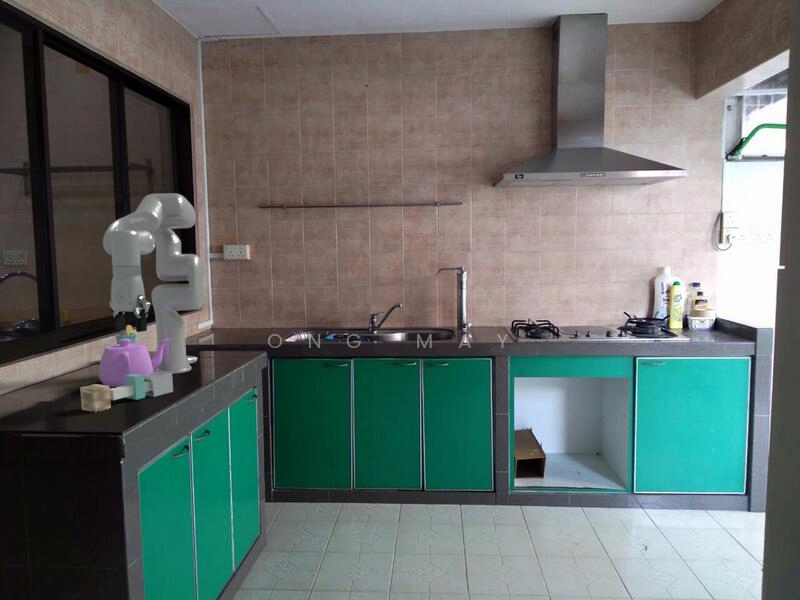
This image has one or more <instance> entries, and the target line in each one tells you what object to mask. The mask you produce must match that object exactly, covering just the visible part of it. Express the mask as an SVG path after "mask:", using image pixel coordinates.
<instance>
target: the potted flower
mask: <svg viewBox="0 0 800 600" xmlns="http://www.w3.org/2000/svg"><path fill="white" fill-rule="evenodd" d="M136 336H137V335H136V333H134V329H133V326H132V325H131V324H127V325H126V329H125V330H121V333H118V334H115V336H114V337H115V339H116V344H120V343H119V341H118V340H119V339H131V340H130V343H136Z"/></svg>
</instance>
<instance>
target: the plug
mask: <svg viewBox="0 0 800 600" xmlns="http://www.w3.org/2000/svg"><path fill="white" fill-rule="evenodd" d="M148 391H151V380H146V381H144V375H141V374H129V375H125V385H124V386H120V387H116V388H111V387H110V401H116V400H119V399H123V398H126V399H129V400H130V399H131V400H134V401H135V400H141V399H144V398H146V395H145V392H148Z"/></svg>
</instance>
